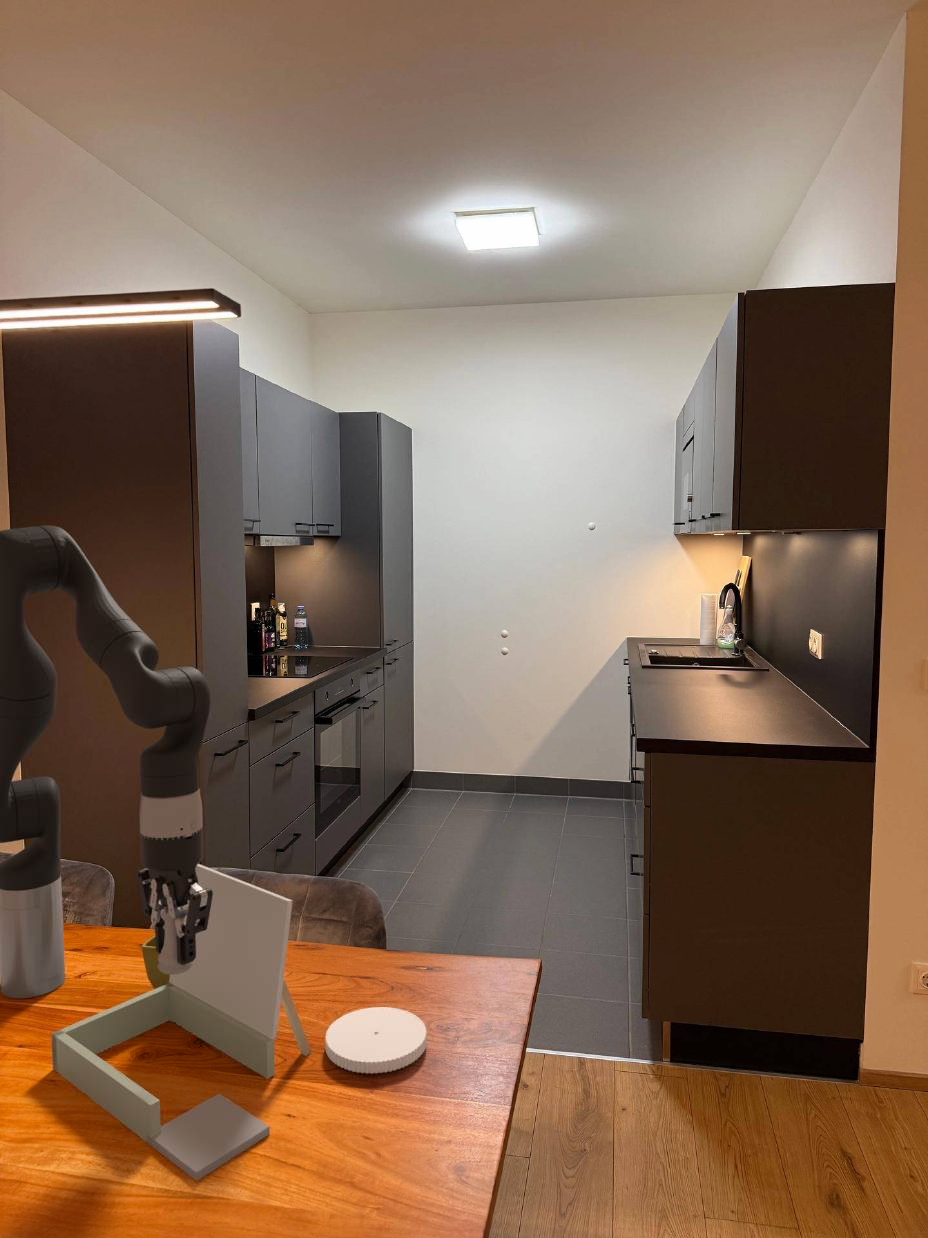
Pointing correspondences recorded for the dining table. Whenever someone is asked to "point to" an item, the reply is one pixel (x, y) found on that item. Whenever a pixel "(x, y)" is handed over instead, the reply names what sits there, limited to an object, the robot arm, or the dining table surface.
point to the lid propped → (240, 952)
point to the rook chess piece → (171, 947)
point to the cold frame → (141, 1015)
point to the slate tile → (208, 1136)
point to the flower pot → (153, 964)
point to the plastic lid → (376, 1040)
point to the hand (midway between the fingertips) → (175, 956)
